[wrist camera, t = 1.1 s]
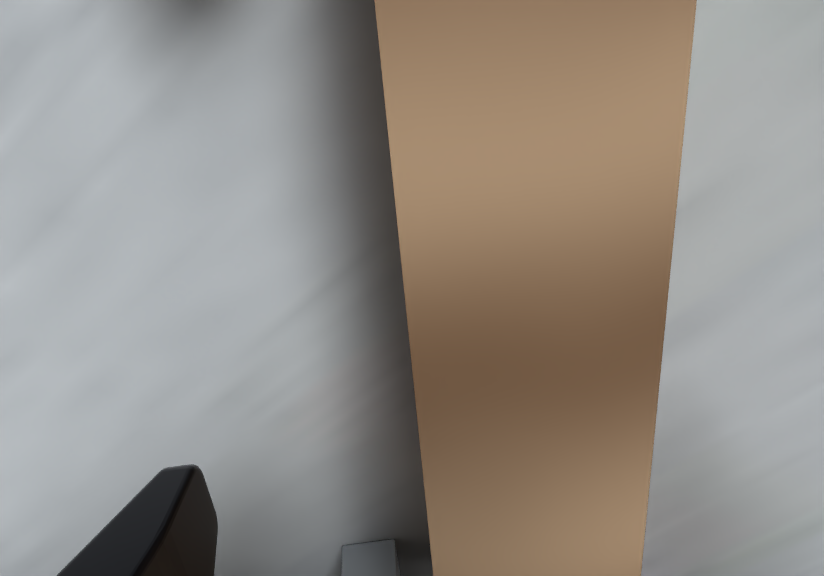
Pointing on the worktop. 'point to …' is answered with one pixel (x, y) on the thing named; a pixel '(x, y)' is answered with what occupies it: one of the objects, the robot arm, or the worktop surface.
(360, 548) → the end cap
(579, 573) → the slat
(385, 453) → the worktop surface
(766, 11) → the worktop surface
